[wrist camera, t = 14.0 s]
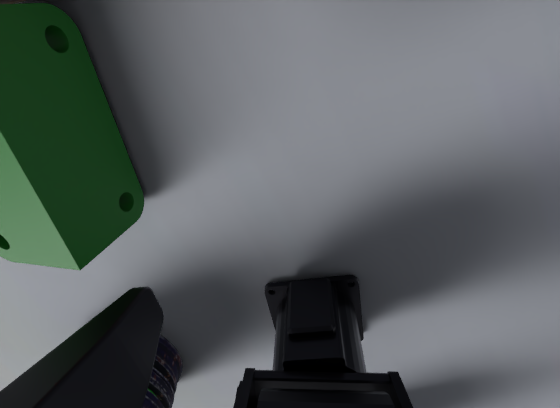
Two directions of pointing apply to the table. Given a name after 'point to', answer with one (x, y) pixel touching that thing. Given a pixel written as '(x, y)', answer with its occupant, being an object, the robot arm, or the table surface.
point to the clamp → (57, 146)
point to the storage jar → (163, 376)
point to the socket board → (10, 1)
